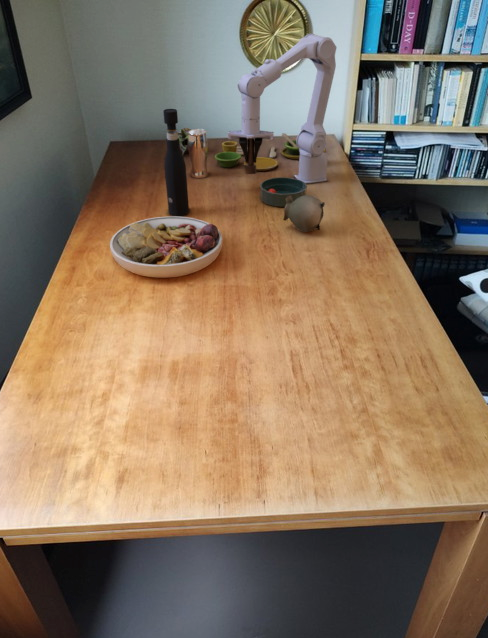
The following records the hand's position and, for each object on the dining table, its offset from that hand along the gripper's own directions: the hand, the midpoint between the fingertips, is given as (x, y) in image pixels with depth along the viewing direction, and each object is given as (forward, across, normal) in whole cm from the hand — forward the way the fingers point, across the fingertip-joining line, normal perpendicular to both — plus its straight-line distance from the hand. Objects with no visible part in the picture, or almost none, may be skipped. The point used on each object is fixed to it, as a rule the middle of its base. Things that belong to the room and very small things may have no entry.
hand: (250, 161), depth 181 cm
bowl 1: (+10, -20, -48) cm, 53 cm away
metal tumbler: (+10, -19, +15) cm, 27 cm away
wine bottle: (+10, -22, -18) cm, 30 cm away
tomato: (+8, +7, -6) cm, 13 cm away
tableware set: (+10, +6, +32) cm, 35 cm away
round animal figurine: (+10, +18, -29) cm, 35 cm away
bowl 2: (+10, +11, -6) cm, 16 cm away
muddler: (+3, 0, -1) cm, 3 cm away
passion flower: (+10, -28, +38) cm, 49 cm away
